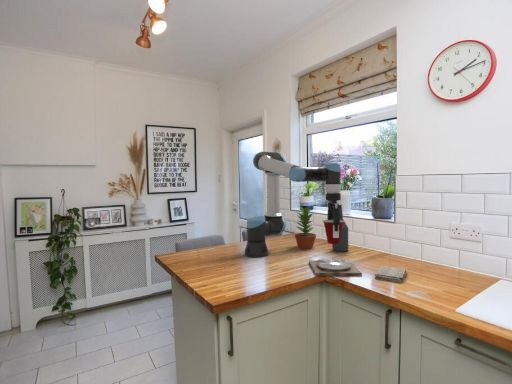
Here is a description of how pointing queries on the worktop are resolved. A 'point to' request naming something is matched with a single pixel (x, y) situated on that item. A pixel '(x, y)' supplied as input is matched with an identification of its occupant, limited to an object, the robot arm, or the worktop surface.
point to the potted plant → (305, 230)
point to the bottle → (342, 235)
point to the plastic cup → (329, 231)
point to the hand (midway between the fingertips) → (333, 235)
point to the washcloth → (390, 274)
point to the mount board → (332, 273)
